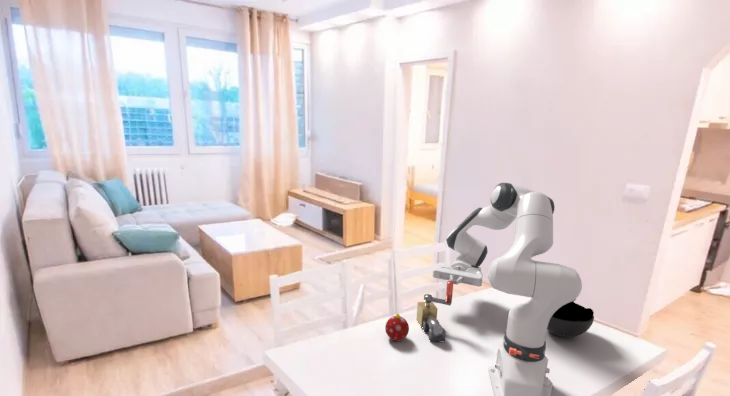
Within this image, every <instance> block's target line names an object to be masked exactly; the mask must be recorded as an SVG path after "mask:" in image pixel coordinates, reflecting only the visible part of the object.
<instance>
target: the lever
mask: <svg viewBox="0 0 730 396" xmlns="http://www.w3.org/2000/svg"><path fill="white" fill-rule="evenodd" d="M453 283H454V282H452V281H448V280H446V287H445V288H446V290H445V298H444V299H443V298H438V297H433V295H432V294H429V293H426V294H423V302H427V303H430V302H433V303H436V304H440V305H445V306H448V307H449V306H450V307H451V305H452V302H453V293H454V284H453Z"/></svg>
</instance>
